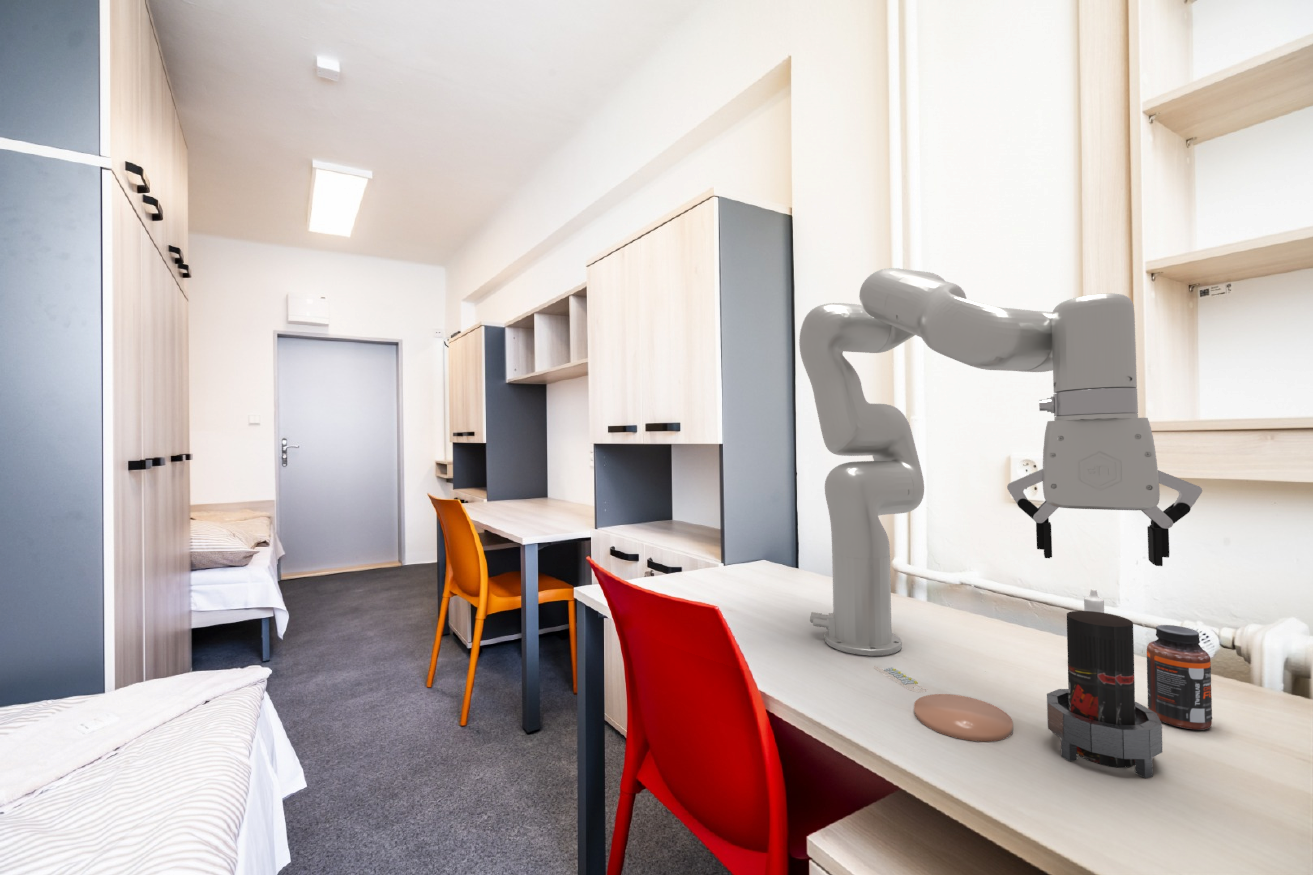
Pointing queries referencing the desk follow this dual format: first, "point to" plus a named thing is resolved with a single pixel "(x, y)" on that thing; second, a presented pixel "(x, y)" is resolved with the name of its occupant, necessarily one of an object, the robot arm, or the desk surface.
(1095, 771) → the desk surface
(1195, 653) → the supplement bottle
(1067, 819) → the desk surface
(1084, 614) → the deodorant
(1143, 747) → the ring stand
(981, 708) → the coaster
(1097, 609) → the eye dropper bottle
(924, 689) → the keychain
